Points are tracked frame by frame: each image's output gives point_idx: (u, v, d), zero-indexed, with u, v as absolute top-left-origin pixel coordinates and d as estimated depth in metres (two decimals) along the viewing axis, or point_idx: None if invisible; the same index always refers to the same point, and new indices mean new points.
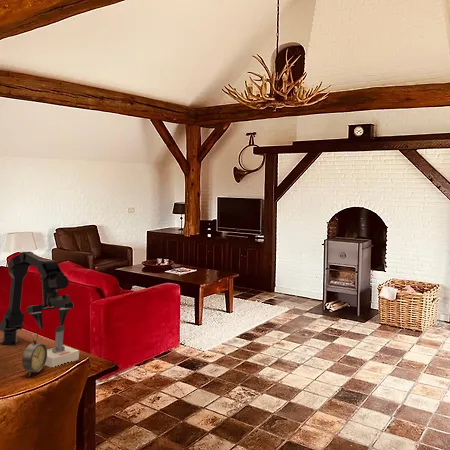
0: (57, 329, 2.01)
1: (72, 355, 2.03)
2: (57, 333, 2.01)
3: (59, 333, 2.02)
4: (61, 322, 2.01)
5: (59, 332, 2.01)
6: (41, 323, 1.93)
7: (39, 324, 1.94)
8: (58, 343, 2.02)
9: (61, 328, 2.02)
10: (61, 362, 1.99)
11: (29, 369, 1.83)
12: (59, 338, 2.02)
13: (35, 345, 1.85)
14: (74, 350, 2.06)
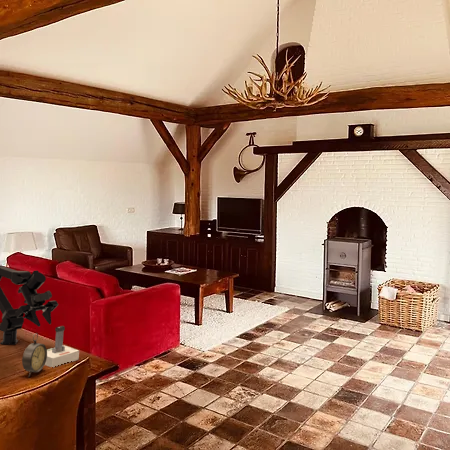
0: (57, 329, 2.01)
1: (72, 355, 2.03)
2: (57, 333, 2.01)
3: (59, 333, 2.02)
4: (48, 320, 2.10)
5: (59, 332, 2.01)
6: (37, 320, 2.05)
7: (36, 322, 2.05)
8: (58, 343, 2.02)
9: (61, 328, 2.02)
10: (61, 362, 1.99)
11: (29, 369, 1.83)
12: (59, 338, 2.02)
13: (35, 345, 1.85)
14: (74, 350, 2.06)
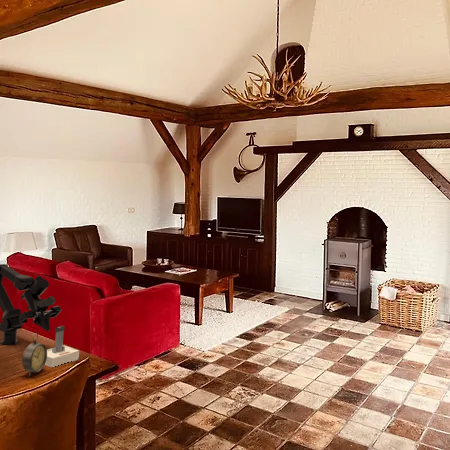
0: (57, 329, 2.01)
1: (72, 355, 2.03)
2: (57, 333, 2.01)
3: (59, 333, 2.02)
4: None
5: (59, 332, 2.01)
6: (46, 324, 2.06)
7: (44, 327, 2.06)
8: (58, 343, 2.02)
9: (61, 328, 2.02)
10: (61, 362, 1.99)
11: (29, 369, 1.83)
12: (59, 338, 2.02)
13: (35, 345, 1.85)
14: (74, 350, 2.06)
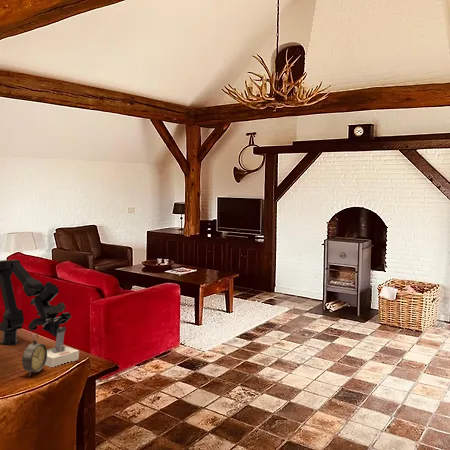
0: (58, 330, 2.01)
1: (72, 355, 2.03)
2: (58, 333, 2.01)
3: (60, 334, 2.01)
4: None
5: (60, 333, 2.01)
6: (56, 331, 2.03)
7: (54, 333, 2.03)
8: (59, 343, 2.02)
9: (62, 329, 2.01)
10: (61, 362, 1.99)
11: (29, 369, 1.83)
12: (60, 338, 2.02)
13: (35, 345, 1.85)
14: (74, 350, 2.06)
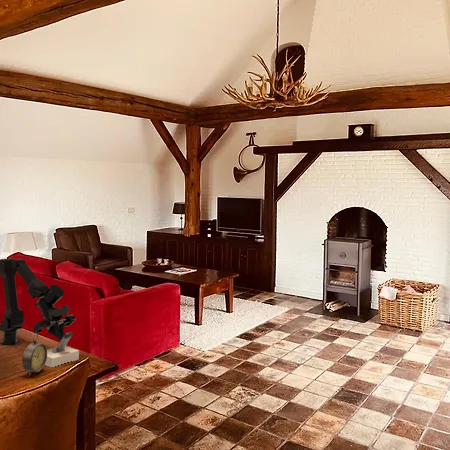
0: (65, 335, 1.98)
1: (72, 355, 2.03)
2: (64, 338, 1.99)
3: (65, 339, 2.00)
4: None
5: (66, 338, 1.99)
6: (60, 334, 2.01)
7: (59, 336, 2.01)
8: (61, 346, 2.01)
9: (69, 336, 1.99)
10: (61, 362, 1.99)
11: (29, 369, 1.83)
12: (64, 343, 2.00)
13: (35, 345, 1.85)
14: (74, 350, 2.06)
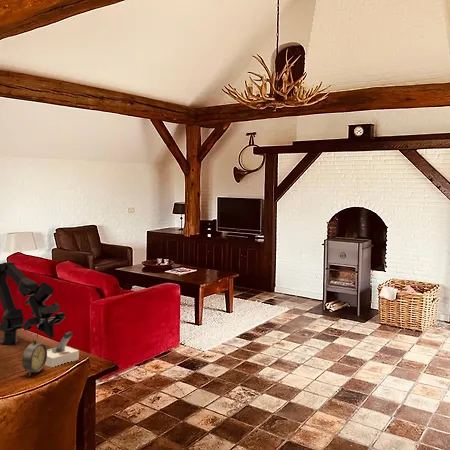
0: (65, 336, 1.98)
1: (72, 355, 2.03)
2: (64, 338, 1.99)
3: (65, 339, 2.00)
4: None
5: (66, 338, 1.99)
6: (50, 331, 2.05)
7: (48, 333, 2.05)
8: (61, 346, 2.01)
9: (69, 336, 1.99)
10: (61, 362, 1.99)
11: (29, 369, 1.83)
12: (64, 343, 2.00)
13: (35, 345, 1.85)
14: (74, 350, 2.06)
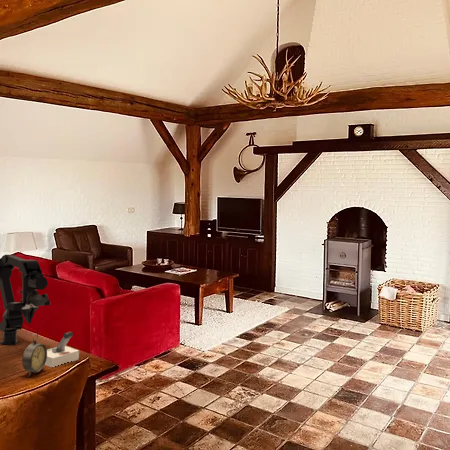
0: (65, 336, 1.98)
1: (72, 355, 2.03)
2: (64, 338, 1.99)
3: (65, 339, 2.00)
4: None
5: (66, 338, 1.99)
6: (29, 318, 2.09)
7: (27, 319, 2.09)
8: (61, 346, 2.01)
9: (69, 336, 1.99)
10: (61, 362, 1.99)
11: (29, 369, 1.83)
12: (64, 343, 2.00)
13: (35, 345, 1.85)
14: (74, 350, 2.06)
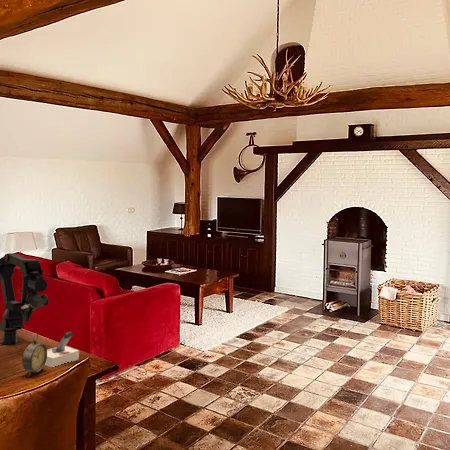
0: (65, 336, 1.98)
1: (72, 355, 2.03)
2: (64, 338, 1.99)
3: (65, 339, 2.00)
4: None
5: (66, 338, 1.99)
6: (27, 317, 2.09)
7: (24, 317, 2.09)
8: (61, 346, 2.01)
9: (69, 336, 1.99)
10: (61, 362, 1.99)
11: (29, 369, 1.83)
12: (64, 343, 2.00)
13: (35, 345, 1.85)
14: (74, 350, 2.06)
